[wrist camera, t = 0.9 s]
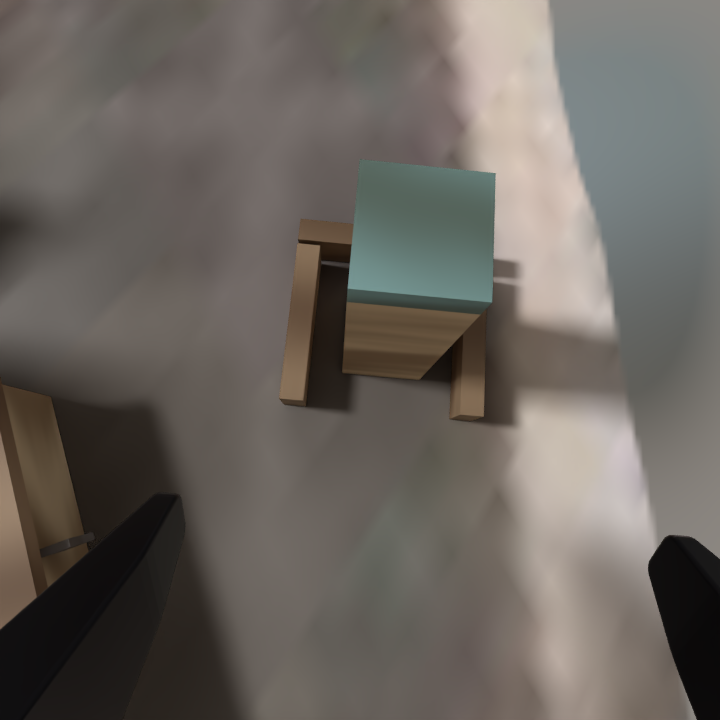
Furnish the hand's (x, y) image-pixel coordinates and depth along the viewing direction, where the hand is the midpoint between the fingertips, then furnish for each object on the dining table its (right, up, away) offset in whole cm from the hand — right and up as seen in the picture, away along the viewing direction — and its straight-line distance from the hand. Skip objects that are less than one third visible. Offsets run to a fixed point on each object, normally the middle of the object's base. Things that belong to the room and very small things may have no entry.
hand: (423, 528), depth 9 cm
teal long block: (0, +4, +14) cm, 15 cm away
